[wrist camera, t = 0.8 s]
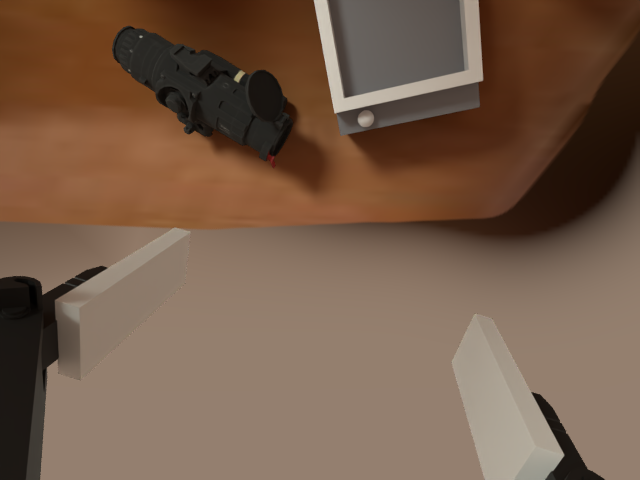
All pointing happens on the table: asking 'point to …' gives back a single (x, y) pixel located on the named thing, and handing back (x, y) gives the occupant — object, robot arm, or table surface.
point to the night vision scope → (207, 91)
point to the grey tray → (400, 59)
